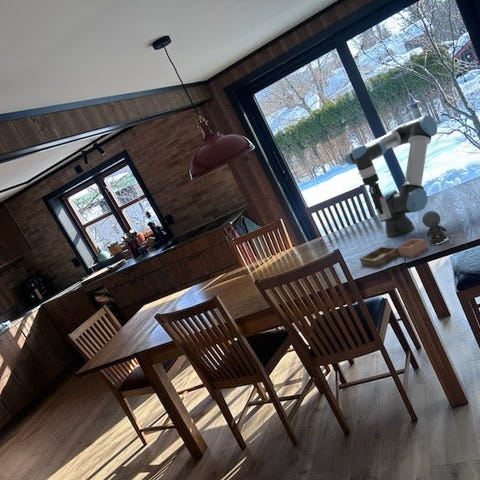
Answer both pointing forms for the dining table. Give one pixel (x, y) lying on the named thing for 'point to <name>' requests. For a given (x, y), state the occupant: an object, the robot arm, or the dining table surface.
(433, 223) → the figurine
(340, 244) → the dining table surface
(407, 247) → the tan square open box
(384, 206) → the supplement box
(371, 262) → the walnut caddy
